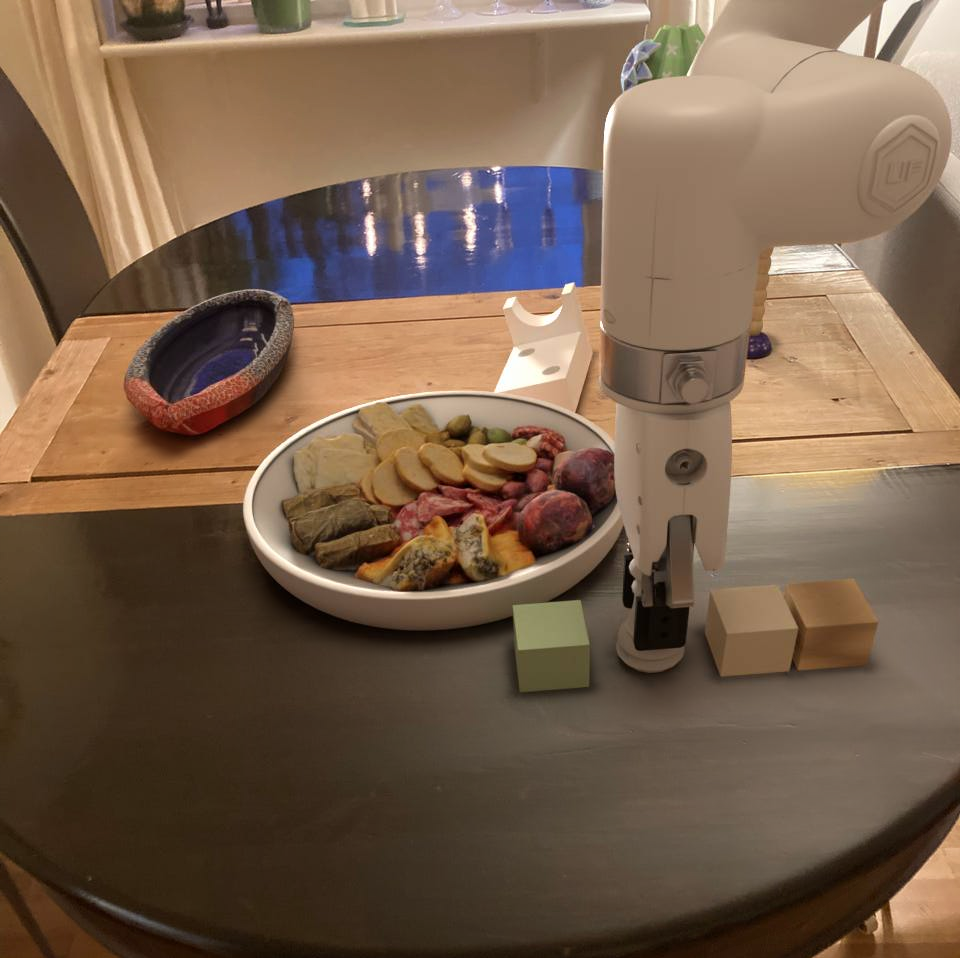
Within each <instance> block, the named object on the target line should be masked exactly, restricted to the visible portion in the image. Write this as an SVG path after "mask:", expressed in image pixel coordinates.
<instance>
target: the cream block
mask: <svg viewBox="0 0 960 958" xmlns="http://www.w3.org/2000/svg"><path fill="white" fill-rule="evenodd" d="M706 611H707V612H706V619H705V628H704V634H705V637H706V640H707V642H708V645H709V649H710V650H711V651H710V652H711V654H712V657H713V660H714V662H715V665H716V668H717V670H718V673H719V676H720V677H731V676H745V675H757V674H758V675H759V674H771V673H782V672H790V670H791V666H792V661H793V659H792V656H793V651H794V646H795V642H796V637H797V632H798V627H797V624H796V622H795V620H794V618H793V616H792V614H791V612H790V610H789V607H788V605H787V603H786V601H785V599H784V594H783V593H782V590H781V588H780V586H779V585H778V584H769V585H768V584H767V585H757V586H756V585H755V586H742V587H731V588H729V587H728V588H717V589H716V588H715V589H710V590H709V595H708V603H707V610H706Z"/></svg>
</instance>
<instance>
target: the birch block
mask: <svg viewBox="0 0 960 958" xmlns="http://www.w3.org/2000/svg"><path fill="white" fill-rule="evenodd" d="M783 597H784V599H785V601H786V603H787V605H788V607H789V610H790V612H791V614H792V616H793V618H794V620H795V622H796V624H797V627H798V632H797V637H796V642H795V646H794V651H793V656H792V661H793V663H794V666H795V668H796V670H797V671H809V670H820V669H833V668H846V667H847V668H848V667H860V666H867V665H868V663H869V662H868V661H869V657H870V654H871V650H872V647H873V644H874V643H873V642H874V640H875V636H876V632H877V628H878V626H879V620H878V619H877V616H876V615H875V613H874V611H873V609H872V608H871V606H870V604H869V602H868V601H867V599H866V597H865V596H864V594H863V592H862V590H861V589H860V587H859V585H858V584H857V582H856V580H855V579H854V578H845V579H833V580H821V581H819V580H818V581H807V582H793V583H792V582H791V583H786V584H785V587H784V594H783Z"/></svg>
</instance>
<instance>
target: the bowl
mask: <svg viewBox="0 0 960 958" xmlns="http://www.w3.org/2000/svg"><path fill="white" fill-rule="evenodd" d="M614 447H615V439H614V438H612V437H611V436H610V435H609V434H608V433H607V432H606V431H605V430H604V429H602V428H601V427H600V426H599V425H597V424H596V423H594V422H592V421H591V420H590V419H588V418H585V416H582V415H580V414H579V413H576V412H575V413H574V412H572V411H570V410H567V409H565V408H563V407H560V406H557V405H554V404H551V403H548V402H545V401H541V400H537V399H533V398H529V397H524V396H519V395H512V394H506V393H497V392H494V391H486V390H485V391H483V390H441V391H439V390H438V391H428V392H427V391H426V392H419V393H410V394H404V395H403V394H402V395H398V396H392V397H387V398H384V399H383V398H382V399H379V400H376V401H371V402H367V403H364V404H360V405H357V406H354V407H351V408H348V409H345V410H342V411H340V412H337V413H335V414H332V415H329V416H327V417H325V418H323V419H320V420H319V421H316V422H315V423H312V424H311V425H309V426H307V427H305V428H303V429H301V430H300V431H298V432H297V433H295V434H293V435H292V436H291V437H289V438H287V439H286V440H285V441H284V442H282V443H281V444H280V445H278V446H277V447H276V448H275V449H274V450H273V451H271V453H269V455H267V457H266V458H265V459H264V460H263V461H262V462H261V463H260V465H259V466H258V467H257V469H256V470H255V471H254V473H253V474H252V476H251V478H250V479H249V482H248V484H247V487H246V490H245V493H244V495H243V502H242V518H243V521H244V526H245V530H246V533H247V536H248V539H249V543H250V545H251V547H252V549H253V551H254V553H255V555H256V557H257V559H258V560H259V562H260V563H261V565H262V566H263V567H264V569H265V570H266V571H267V573H268V574H269V575H270V576H271V578H273V580H275V581H276V582H277V584H279V585H280V586H281V587H282V588H284V589H285V590H286V591H287V592H288V593H290V594H291V595H292V596H294V597H295V598H297V599H298V600H300V601H302V602H303V603H304V604H307V605H308V606H311V607H312V608H314V609H317V610H318V611H321V612H323V613H325V614H328V615H330V616H332V617H335V618H339V619H342V620H344V621H348V622H351V623H355V624H359V625H364V626H368V627H374V628H381V629H390V630H397V631H398V630H399V631H442V630H444V631H445V630H454V629H463V628H470V627H475V626H479V625H485V624H490V623H493V622H497V621H500V620H504V619H508V618H511V617H513V605H522V604H535V603H548V602H551V601H552V600H553V599H555V598H557V597H559V596H561V595H562V594H564V593H565V592H567V591H568V590H569V589H571V588H573V587H575V586H576V585H577V584H578V583H580V582H581V581H582V580H583V579H585V578H586V577H587V576H588V575H589V574H590V573H591V572H593V570H594V569H595V568H596V567H597V566H599V564H600V563H601V562H602V561H603V560H604V559H605V557H607V555H608V553H609V552H610V550H611V549H612V548H613V546H614V545H615V543H616V541H617V540H618V538H619V536H620V534H621V532H622V530H623V528H624V523H623V519H622V516H621V512H620V508H619V505H618V501H617V496H616V489H615V474H614Z"/></svg>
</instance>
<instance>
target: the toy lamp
mask: <svg viewBox="0 0 960 958" xmlns="http://www.w3.org/2000/svg"><path fill="white" fill-rule="evenodd" d="M774 249H775V247H771V248H768V249H766V250H764V251H763V252H762V253H761V254H760V259H759V266H758V274H757V282H756V290H755V298H754V306H753V313H752V321H751V328H750V336H749V344H748V352H747V359H759V358H764V357H766V356H768V355H770V354H771V353H772V350H773V349H772V348H773V346H772V341H771V339H770V337H769V336H768V335H767V334H766V333H764V332H762V331H763V328H764V321H763V318H764V316H765V313H766V306H765V303H766V301H767V299H768V289H767V287H768V286H769V282H770V273H769V272H770V270H771V268H772V267H771V266H772V258H771V257H772V254H773V252H774Z"/></svg>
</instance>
